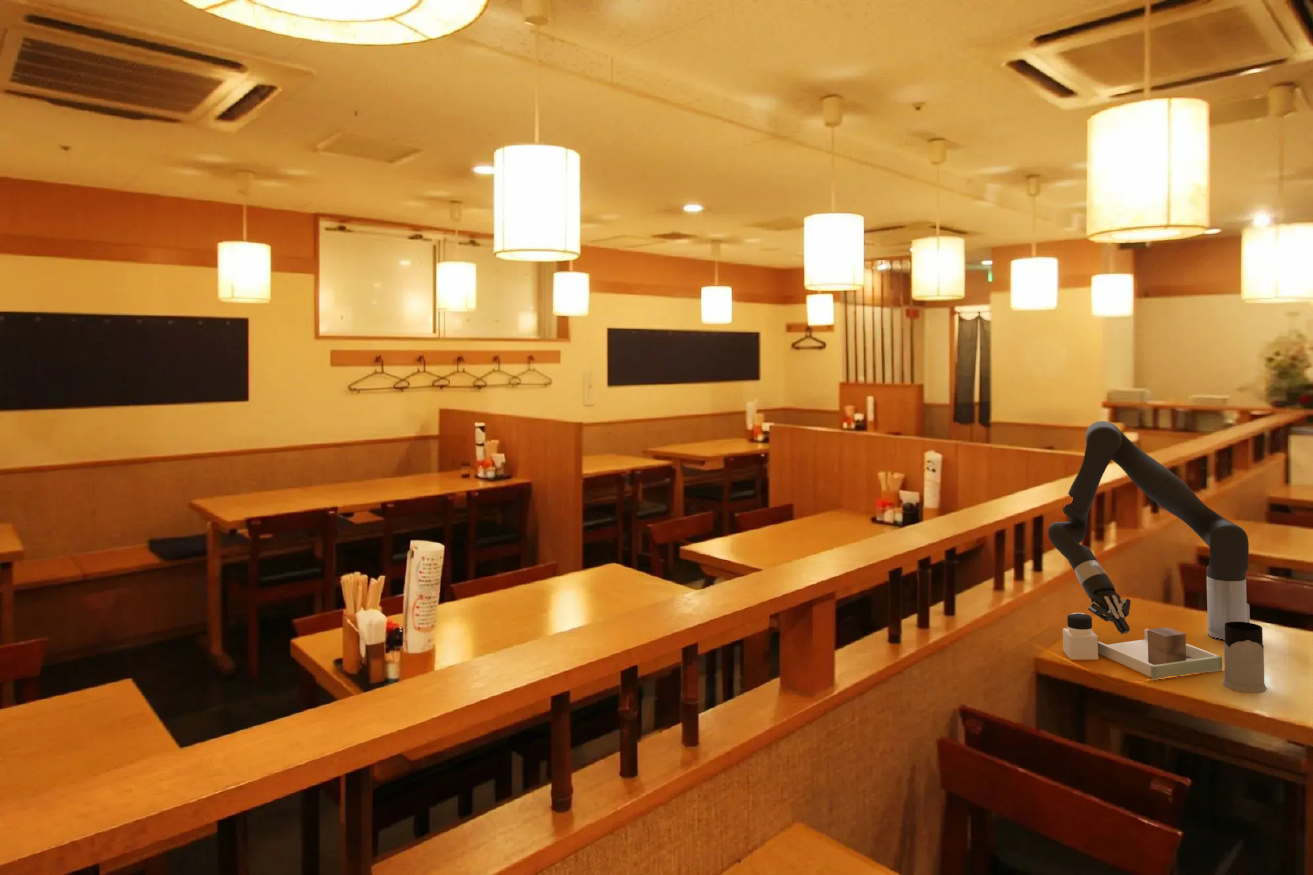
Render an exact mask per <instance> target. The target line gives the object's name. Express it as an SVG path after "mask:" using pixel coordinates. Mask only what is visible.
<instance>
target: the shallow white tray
mask: <svg viewBox="0 0 1313 875" xmlns="http://www.w3.org/2000/svg"><path fill="white" fill-rule="evenodd" d="M1143 630H1144V639H1138V640H1131V641H1124V642H1118V643H1116V642H1115V643H1109V644H1106V643H1103V642H1102V641H1099V640H1098V655H1101V656H1103V657H1106V658H1108V659H1109V660H1112V661H1114V662H1116V663H1119V664H1121V665H1122V666H1125V667H1127V668H1130V669H1132V670H1134V671H1136V672H1138V673H1140V674H1142V675H1145V676H1147V677H1150V678H1151V679H1153V680H1152V681H1154V680H1155V681H1157V680H1156V679H1159V678H1164V677H1168V676H1181V675H1186V674H1193V673H1194V674H1195V673H1203V672H1209V673H1214V672H1215V673H1216V672H1220V671H1221V670H1222V671H1223V657H1222V656H1220V655H1218V654H1215V653H1213V652H1210V651H1207V650H1205V649H1201V648H1199V647H1196V646H1194V645H1192V644H1189V643H1186V656H1188V657H1191V658H1189V659H1186V660H1185V661H1178V662H1172V663H1165V664H1158V665H1153V664H1151V663H1148V632H1147V630H1149V628H1144V629H1143ZM1222 671H1221V672H1222ZM1203 674H1204V673H1203ZM1151 679H1150V680H1151Z"/></svg>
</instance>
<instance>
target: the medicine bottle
mask: <svg viewBox="0 0 1313 875" xmlns="http://www.w3.org/2000/svg"><path fill="white" fill-rule="evenodd" d="M1066 619H1067V622H1066V623H1067V628H1065V627H1064V628H1062V642H1063V643H1062V644H1063V645H1062V646H1063V647H1062V648H1063V652H1064V653H1065V655H1066V656H1067V658H1069V660H1070V662H1072V660H1074V661H1075V660H1080V661H1081V660H1082V661H1083V660H1084V661H1085V660H1099V654H1098V641H1099V636H1098V635H1097V634H1096V633H1095V632H1094V630H1093V618H1092V616H1091V615H1090V614H1087V613H1085V612H1084V613H1083V612H1073V613H1069V614H1068V615H1067V617H1066Z"/></svg>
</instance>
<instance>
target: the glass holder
mask: <svg viewBox="0 0 1313 875" xmlns="http://www.w3.org/2000/svg"><path fill="white" fill-rule="evenodd" d="M1263 638H1264V637H1263V626H1261V625H1259V624H1257V623H1252V622H1250V623H1248V622H1235V621H1233V622H1227V623H1225V640H1224V643H1223V648H1224V649H1223V650H1224V653H1223V654H1224V655H1223V656H1224V660H1223V661H1224V662H1223V663H1224V679H1223V681H1222V686H1224V687H1226V688H1227V689H1229V690H1233V691H1236V692H1239V693H1240V692H1241V693H1246V694H1247V693H1249V694H1261V693H1264V692H1266V691H1267V686H1266V683H1265V655H1264V653H1265V652H1264V650H1265V649H1264V648H1265V647H1264V644H1263V643H1264V640H1263Z"/></svg>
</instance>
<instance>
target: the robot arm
mask: <svg viewBox="0 0 1313 875" xmlns="http://www.w3.org/2000/svg"><path fill="white" fill-rule="evenodd" d="M1111 461H1113V463H1115V464H1116V465H1117V466H1119V467H1120V468H1121V469H1122V470H1123V472H1124V473H1125V474H1126V475H1127V476H1128V477H1129V479H1130V480H1131V481H1132V482H1133V483H1134V484H1135V486H1137V488H1139V489H1140V491H1141V492H1143V493H1144V494H1145V495H1146V496H1147V497H1148V498H1150V500H1152V501H1153V502H1154V503H1156V504H1157V505H1158V506H1160V507H1161V508H1163V510H1165V511H1167V512H1168V513H1170V514H1171V515H1173V516H1175V517H1176V518H1177V519H1180V520H1181V521H1182V522H1184V523H1185V524H1186V525H1187V526H1188V527H1189V528H1190V529H1191V530H1193V532H1195V534H1196V535H1197V536H1198V537H1200V539H1201V540H1202V541H1203V542H1204V543H1205V544H1206V545H1207V547H1209V564H1208V566H1207V567H1206V600H1207V601H1206V603H1207V604H1206V605H1207V606H1206V607H1207V608H1206V609H1207V612H1206V613H1207V635H1208V634H1209V635H1211V636H1212V637H1211V636H1210V637H1211V638H1213V637H1215V638H1214V639H1216V638H1219V639H1218V640H1220V639H1223V640H1222V641H1225V623H1227V622H1233V621H1235V622H1248V623H1251V619H1250V618H1251V616H1250V614H1251V613H1250V611H1251V610H1250V604H1249V603H1247V572H1248V571H1249V570H1248V569H1249V559H1250V557H1249V552H1250V549H1249V546H1250V545H1249V538H1248V537H1249V536H1248V534H1247V532H1246V531H1245V530H1244V529H1243V528H1242V527H1241V526H1239V525H1237V524H1236V523H1234V522H1232V521H1230V520H1228V519H1227V518H1224V517H1223V516H1222V515H1220V514H1219V513H1217V512H1215V511H1214V510H1213V509H1212V508H1210V507H1208V506H1207V505H1206V504H1205V503H1204V502H1203V501H1201V499H1200V498H1199V497H1198V496H1197V495H1196V494H1195V492H1194V491H1193V490H1192V489H1191V487H1189V485H1188V484H1186V483H1185V481H1183V480H1182V479H1181V478H1179V477H1178V476H1177V475H1176V474H1174V473H1173V471H1171V470H1169V469H1168V468H1167V467H1166V466H1164V465H1163V464H1162V463H1160V462H1159V461H1158V460H1156V459H1154V458H1153V457H1151V456H1150V455H1148V454H1147V453H1145V452H1144V451H1143V450H1142V449H1140V448H1139V447H1137V445H1136V444H1134V443H1133V441H1131V439H1129V437H1127V436H1126V434H1124V433H1123V431H1121V429H1119V428H1118V426H1117V425H1115V424H1113V423H1112V422H1109V421H1106V420H1101V421H1100V420H1099V421H1096V422H1093V423H1091V425H1089V426H1088V427H1087V429H1086V432H1085V451H1084V456H1083V460H1082V462H1081V466H1080V468H1079V471H1078V473H1077V474H1076V477H1075V478H1074V480H1073V482H1072V484H1071V486H1070V487H1069V490H1068V493H1067V495H1068V494H1069V495H1070V496H1071V497H1073V501H1072V503H1071V504H1070V505H1066V506H1065V507H1062V512H1063V514H1064V515H1066V516H1068V521H1056V522H1054V521H1053V522H1052V523H1051V524H1050V525H1049V527H1048V529H1047V535H1048V539H1049V541H1050V543H1051V544H1052V545H1053V546H1054V548H1055V549H1056V550H1057V551H1058V552H1059V553H1060V554H1061V555H1063V557H1064V558H1065V559H1066V560H1067V561H1068V563H1069V565H1070V566H1071V569H1072V570H1073V572H1074V573H1075V576H1076V578H1077V579H1078V582H1079V583H1080V585H1081V586H1082V588H1083V590H1084V591H1085V594H1086V595H1087V597H1088V598H1089V599H1090V601H1091V605H1090V606H1088V607H1087V610H1088V611H1090V612H1091V613H1092V614H1094V615H1095V616H1097V617H1098V618H1100V619H1102V620H1103V621H1105V622H1111V623H1112V624H1113V625H1114V626H1115V628H1116V629H1117V631H1118V633H1120V634H1121V635H1124V634H1125V635H1126V634H1128V633H1129V632H1130V629H1131V626H1130V625H1129V624H1128V622H1127V621H1126V618H1127V617H1128V616H1129V615H1130V609H1131V602H1132V601H1131V599H1129V598H1127V599H1124V598H1122V597H1121V596H1120V594H1119V593H1117V592H1116V589H1115V585H1114V583H1113V582H1112V580H1111V578H1110V577H1109V575H1108V574H1107V572H1106V571H1105V569H1104V568H1103V566H1102V565H1101V563H1100V562H1099V561H1098V560H1097V558H1096V556H1095V554H1094V553H1093V551H1092V550H1091V549H1090V547H1088V546H1087V545H1084V544H1081V543H1082V542H1083V541H1084V539H1085V537H1086V534H1087V525H1088V515H1089V512H1090V510H1091V507H1092V504H1093V503H1094V502H1093V501H1094V500H1095V497H1096V494H1097V491H1098V488H1099V485H1100V483H1101V481H1102V478H1103V476H1104V474H1105V472H1106V470H1107V467H1108V465H1109V464H1110V462H1111ZM1209 635H1208V636H1209Z"/></svg>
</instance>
